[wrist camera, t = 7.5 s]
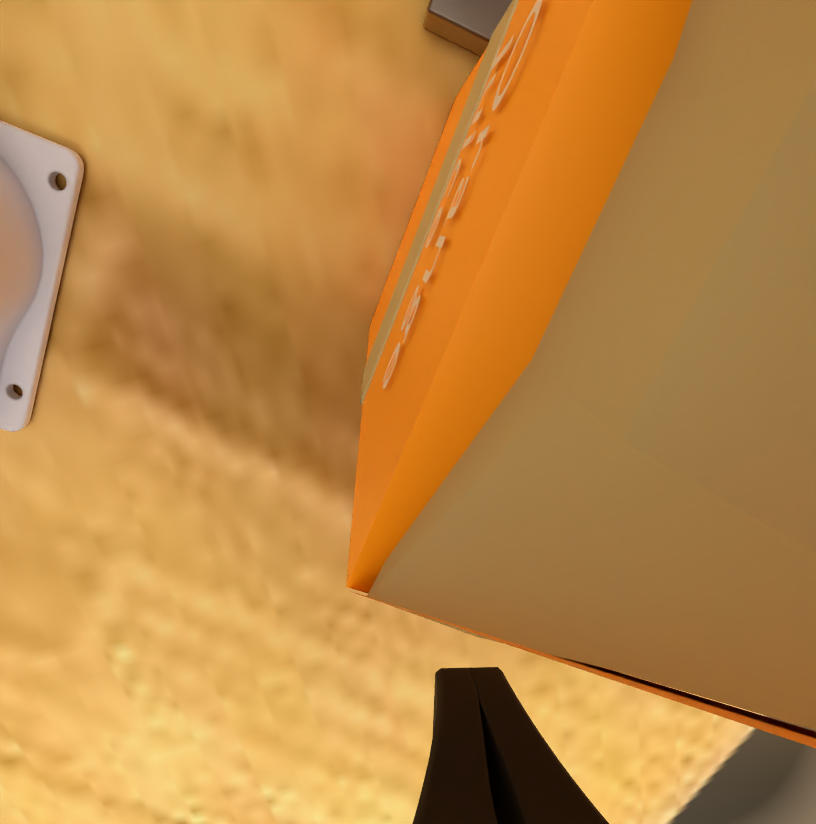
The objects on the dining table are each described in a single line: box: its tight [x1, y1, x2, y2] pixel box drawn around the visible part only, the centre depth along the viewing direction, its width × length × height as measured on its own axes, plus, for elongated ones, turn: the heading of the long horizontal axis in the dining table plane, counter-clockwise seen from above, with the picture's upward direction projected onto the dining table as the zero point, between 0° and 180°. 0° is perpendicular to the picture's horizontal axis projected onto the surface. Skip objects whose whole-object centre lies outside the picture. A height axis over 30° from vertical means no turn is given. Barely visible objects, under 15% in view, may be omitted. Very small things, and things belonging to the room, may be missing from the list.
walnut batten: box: [424, 0, 513, 56], centre depth 17 cm, size 2×12×2 cm, turn 68°
